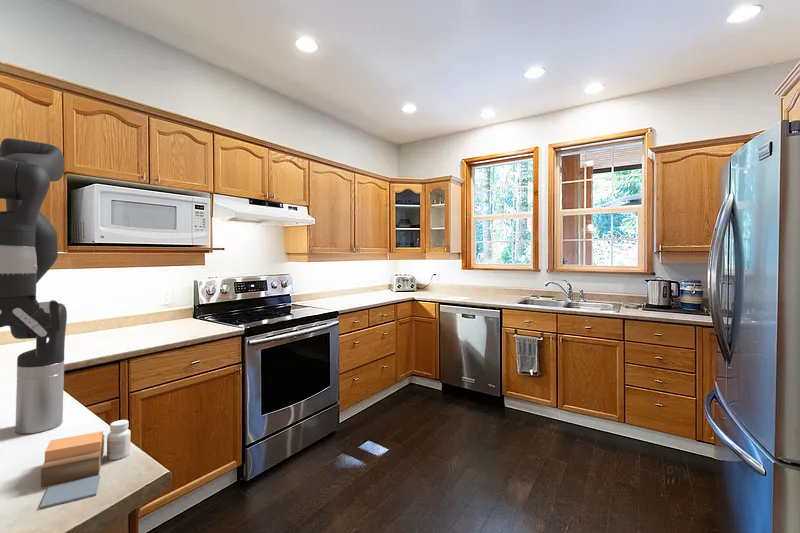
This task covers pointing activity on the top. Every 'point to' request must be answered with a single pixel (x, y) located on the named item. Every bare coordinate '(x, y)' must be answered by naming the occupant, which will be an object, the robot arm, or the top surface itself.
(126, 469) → the top surface
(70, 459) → the block
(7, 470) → the top surface
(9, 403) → the top surface
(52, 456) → the thin peach tile
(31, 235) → the robot arm
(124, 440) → the pill bottle
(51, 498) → the mat
